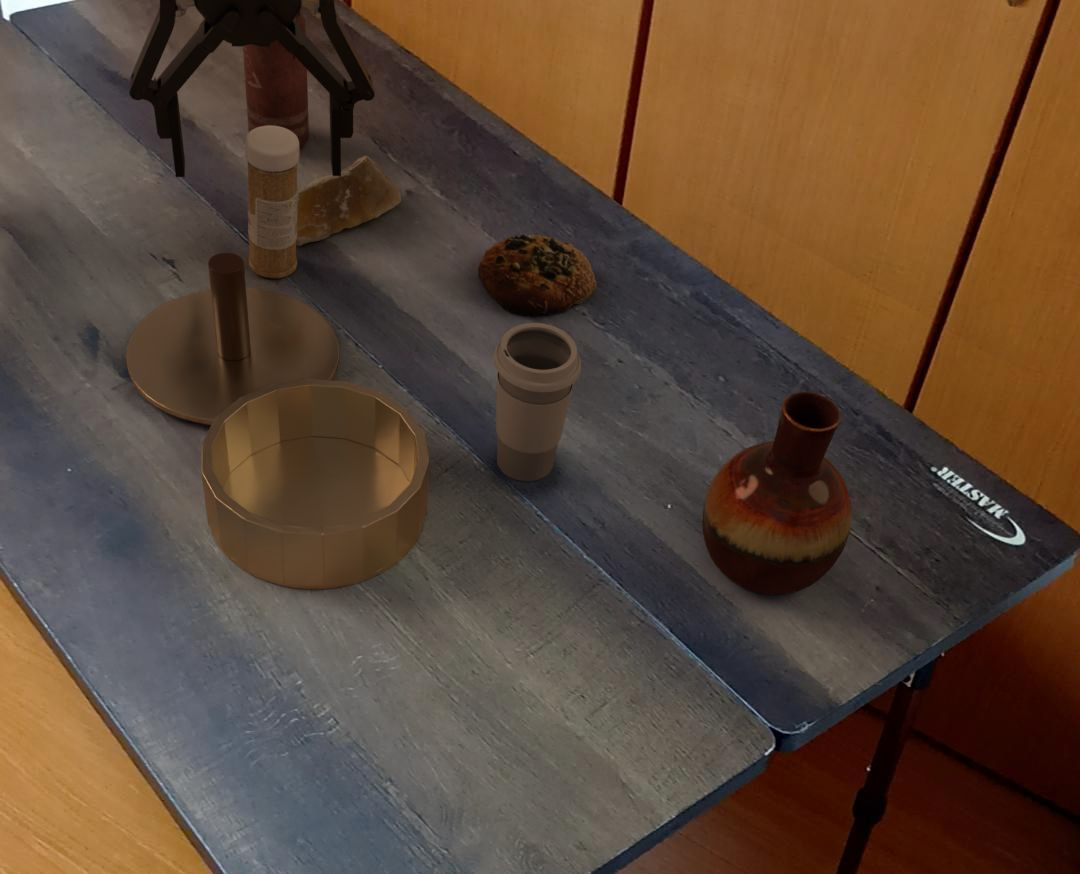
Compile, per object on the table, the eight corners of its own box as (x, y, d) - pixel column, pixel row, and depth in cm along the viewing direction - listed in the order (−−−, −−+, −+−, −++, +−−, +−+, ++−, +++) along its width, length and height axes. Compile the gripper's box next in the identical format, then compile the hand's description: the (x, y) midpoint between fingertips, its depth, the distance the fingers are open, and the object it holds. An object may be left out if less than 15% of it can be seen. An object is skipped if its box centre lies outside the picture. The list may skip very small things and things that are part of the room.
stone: (398, 214, 135) (294, 280, 126) (358, 164, 134) (251, 227, 126) (428, 178, 129) (321, 245, 120) (386, 125, 128) (276, 188, 120)
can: (284, 164, 134) (278, 32, 124) (237, 141, 136) (227, 10, 126) (323, 140, 138) (320, 11, 128) (276, 119, 140) (269, -11, 130)
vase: (688, 598, 100) (730, 450, 89) (696, 496, 107) (736, 348, 96) (833, 623, 100) (894, 478, 88) (831, 519, 107) (887, 373, 96)
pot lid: (123, 436, 106) (105, 335, 98) (131, 300, 117) (115, 201, 110) (346, 426, 109) (345, 328, 102) (332, 295, 121) (330, 199, 113)
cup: (472, 440, 109) (481, 325, 101) (547, 426, 111) (562, 312, 103) (501, 499, 105) (513, 384, 96) (578, 483, 107) (597, 369, 98)
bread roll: (476, 314, 120) (482, 264, 117) (475, 257, 129) (481, 209, 126) (596, 325, 122) (605, 276, 118) (587, 268, 130) (596, 221, 127)
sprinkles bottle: (253, 247, 124) (251, 119, 114) (302, 255, 124) (304, 128, 114) (243, 276, 121) (239, 147, 111) (293, 284, 121) (293, 156, 111)
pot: (208, 598, 95) (201, 542, 91) (207, 438, 106) (201, 382, 102) (437, 583, 98) (440, 528, 94) (413, 429, 110) (415, 374, 105)
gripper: (71, -57, 98) (111, 193, 113) (409, -48, 102) (402, 190, 118) (78, -99, 102) (115, 145, 118) (399, -89, 107) (394, 145, 123)
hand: (259, 168), depth 118 cm, fingers open, 13 cm apart
